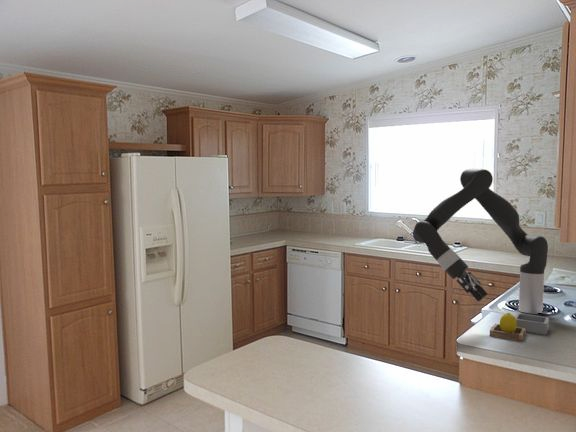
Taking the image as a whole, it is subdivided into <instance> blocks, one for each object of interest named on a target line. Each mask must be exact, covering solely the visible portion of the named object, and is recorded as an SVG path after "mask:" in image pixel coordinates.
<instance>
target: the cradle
mask: <svg viewBox="0 0 576 432" xmlns="http://www.w3.org/2000/svg"><path fill="white" fill-rule="evenodd" d="M526 334H527V332H526V328H520V327H517V328H516V330H515V331H514V332H513V333H508V332H503V331H502V330H501V328H500V323H494V324H493V326H492V327H491V328H490V329H489V337H494V338H495V337H496V338H501V339H507V340H513V341H518V342H524V341H523V340H524V339H525V336H526Z"/></svg>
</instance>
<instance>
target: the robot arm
mask: <svg viewBox="0 0 576 432" xmlns="http://www.w3.org/2000/svg"><path fill="white" fill-rule="evenodd" d="M459 180H460V184H461V186H462V189H461V190H459V191H458V192H456V193H455V194H453V195H452V194H451V195H450V196H449V197H447V198H445V199H444V200H443V201H442V200H441V202H440V203H439V204H437V205H436V206H435V207H434V208H433V209H432V210H431V211H430V212H429V213H428V215H427V217H426V218H425V219H424V220H419V221H418V222H417V223H416V224H415V225H414V228H413V231H412V237H413V239H414V240H415V241H416V242H417V243H424V244H425V245H426V247H427V250H428V252H429V254H430V255H431V257H433V259H434V260H435V261H436V262H437V263H438V264H439V266H440V267H441V268H442V269H443V270H444V272H445V273H446V274H447V275H448V276H449V277H450V278H451V280H455V279H456V283H458V284H459V286H461V287H462V289H463V290H464V291H465V292H466V293H467V294H470V295H472V297H473V298H474V299H475V300H476V301H477V302H480V301H481V300H483V298H484V297H486V296H487V295H488V292H487V291H486V290H485V289H484V288H483V286H482V285H481V284H482V283H481V281H480V280H478V278H476V277H475V275H474V274H473V273H472V272H471V271H468V272H467V269H469V265H467V264H466V262H465V261H464V260H463V259H462V258H461V257H460V256H459V255H458V253H456V252H455V251H454V250H453V249H452V248H451V247H450V246H449V245H448V244H447V243H446V242H445V241H444V240H443V239H442V236H441V235H440V234H439V232H438V231H439V229H440V228H441V227H442V226H443V225H445V224H446V223H447V222H448V221H449V220H450V219H451V218H452V217H453V216H454V215H456V213H457V212H459V211H460V210H461V209H462V208H464V207H465V206H467V205H468V204H469V203H470V202H472V201H473V200H474V199H475V200H476V201H477V202H478V203H479V204H480V205H481V207H482V208H483V209H484V210H485V212H486V213H487V214H488V215H489V216H490V217H491V219H492V221H494V222H495V223H496V224H497V226H498V227H499V228H500V229H501V230H502V231H503V232H504V234H505V235H506V236H507V238H509V240H510V241H511V243H512V244H513V247H514V248H515V249H516V250H517V252H518V253H519V254H521V255H523V256H526V257H529V261H528V262H527V263H523V264H521V265H520V266H519V291H518V292H519V294H518V311H519V312H521V313H523V314H528V315H539V314H538V313H540V312H542V311H543V308H544V288H545V287H544V286H545V285H544V284H545V283H544V282H545V269H546V267H547V263H548V262H547V261H548V254H549V253H548V252H549V245H548V240H547V239H546V238H545V237H544V236H541V235H531V234H529V233H527V232H525V231H524V230H523V228H522V227H521V224H520V214H519V212H518V211H517V210H516V208H515V207H514V206H513V205H512V204H511V202H509V201H508V200H507V199H505V198H504V197H503V196H501V195H500V194H498V193H496V191H493V190H492V189H491V186H492V184H493V180H494V179H493V174H492V173H491V172H490V171H489V170H488V169H484V168H468V169H465V170H463V171H462V172H461V175H460V179H459ZM457 278H458V279H457Z"/></svg>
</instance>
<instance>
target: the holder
mask: <svg viewBox="0 0 576 432" xmlns="http://www.w3.org/2000/svg"><path fill="white" fill-rule="evenodd" d="M514 317H515V319H516V322H517V327H520V328H526V333H533V334H537V335H545V336H547V334H548V331H549V328H550V317H549V316H541V315H537V314H529V313H522V312H521V313H519V312H516V314H515V315H514Z"/></svg>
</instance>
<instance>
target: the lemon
mask: <svg viewBox="0 0 576 432" xmlns="http://www.w3.org/2000/svg"><path fill="white" fill-rule="evenodd" d="M499 324H500V328H501V330H502V332H508V333H513V332H514V331H515V330H516V328H517V322H516V319H515V315H513V314H511V313H510V312H507V313H504V314H503V315H502V316H501V317H500V320H499Z"/></svg>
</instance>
